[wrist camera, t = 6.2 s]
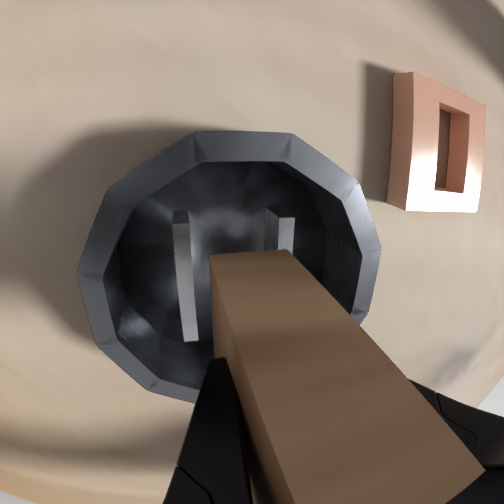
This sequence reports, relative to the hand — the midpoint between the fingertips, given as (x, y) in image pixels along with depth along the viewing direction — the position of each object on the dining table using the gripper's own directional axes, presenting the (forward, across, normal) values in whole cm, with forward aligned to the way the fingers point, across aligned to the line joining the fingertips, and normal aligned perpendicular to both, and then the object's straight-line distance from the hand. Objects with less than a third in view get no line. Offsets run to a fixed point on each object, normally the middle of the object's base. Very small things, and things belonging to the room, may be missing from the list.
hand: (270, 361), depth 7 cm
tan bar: (+2, 0, 0) cm, 3 cm away
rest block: (+7, -12, -6) cm, 15 cm away
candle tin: (+7, 0, 0) cm, 7 cm away
